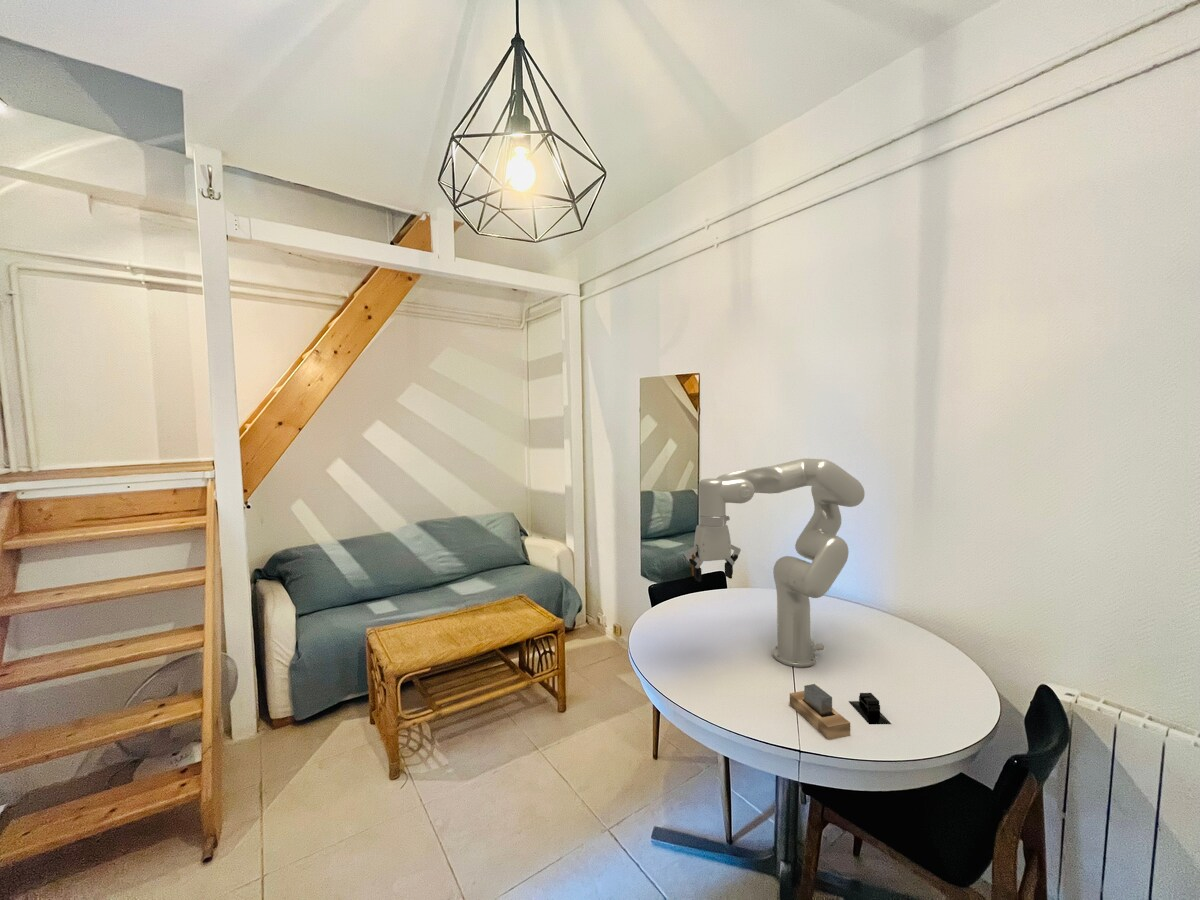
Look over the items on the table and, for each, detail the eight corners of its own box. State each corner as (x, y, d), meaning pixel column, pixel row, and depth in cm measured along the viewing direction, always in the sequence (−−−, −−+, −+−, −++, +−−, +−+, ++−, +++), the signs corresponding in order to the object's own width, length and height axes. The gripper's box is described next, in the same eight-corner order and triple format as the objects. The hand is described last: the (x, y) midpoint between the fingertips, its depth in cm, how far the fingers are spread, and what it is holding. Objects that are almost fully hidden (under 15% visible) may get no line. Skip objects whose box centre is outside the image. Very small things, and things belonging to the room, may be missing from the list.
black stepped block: (842, 700, 119) (842, 683, 119) (870, 699, 119) (870, 682, 119) (869, 731, 107) (869, 712, 107) (900, 730, 107) (900, 712, 106)
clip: (804, 712, 113) (804, 685, 113) (814, 710, 114) (814, 683, 114) (821, 727, 107) (821, 699, 107) (832, 725, 108) (832, 697, 108)
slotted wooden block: (789, 704, 117) (789, 693, 117) (809, 700, 118) (809, 689, 118) (828, 739, 103) (828, 727, 103) (850, 735, 105) (850, 722, 104)
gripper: (732, 516, 137) (733, 572, 138) (679, 520, 133) (680, 577, 134) (746, 521, 130) (746, 580, 130) (690, 525, 126) (691, 585, 126)
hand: (713, 578), depth 132 cm, fingers open, 9 cm apart
